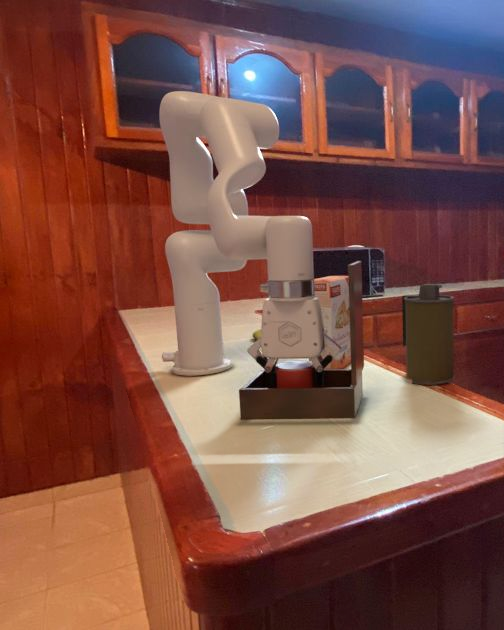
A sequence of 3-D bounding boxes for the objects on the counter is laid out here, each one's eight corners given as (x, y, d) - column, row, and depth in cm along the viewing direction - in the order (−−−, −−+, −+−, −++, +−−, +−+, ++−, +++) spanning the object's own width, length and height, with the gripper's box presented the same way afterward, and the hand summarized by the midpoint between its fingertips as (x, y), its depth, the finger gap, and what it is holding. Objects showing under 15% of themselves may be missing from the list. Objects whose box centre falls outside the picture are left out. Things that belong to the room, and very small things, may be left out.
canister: (460, 374, 115) (460, 282, 112) (446, 387, 105) (446, 287, 102) (413, 370, 119) (412, 281, 116) (396, 382, 109) (394, 286, 106)
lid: (347, 265, 82) (353, 265, 82) (356, 261, 95) (361, 261, 95) (351, 385, 85) (356, 385, 85) (359, 366, 98) (364, 366, 98)
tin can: (273, 413, 89) (270, 369, 88) (283, 400, 95) (280, 360, 94) (312, 412, 89) (310, 369, 88) (319, 400, 95) (318, 359, 94)
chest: (240, 424, 86) (238, 389, 85) (263, 400, 98) (261, 369, 98) (355, 422, 86) (354, 388, 85) (362, 399, 98) (362, 368, 98)
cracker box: (334, 376, 114) (331, 280, 111) (308, 375, 116) (304, 279, 113) (354, 361, 128) (352, 275, 125) (331, 360, 129) (328, 274, 126)
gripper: (232, 293, 85) (239, 400, 88) (340, 292, 85) (343, 398, 88) (247, 288, 93) (253, 387, 95) (346, 287, 93) (349, 386, 95)
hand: (296, 391), depth 92 cm, fingers closed on tin can, 6 cm apart
